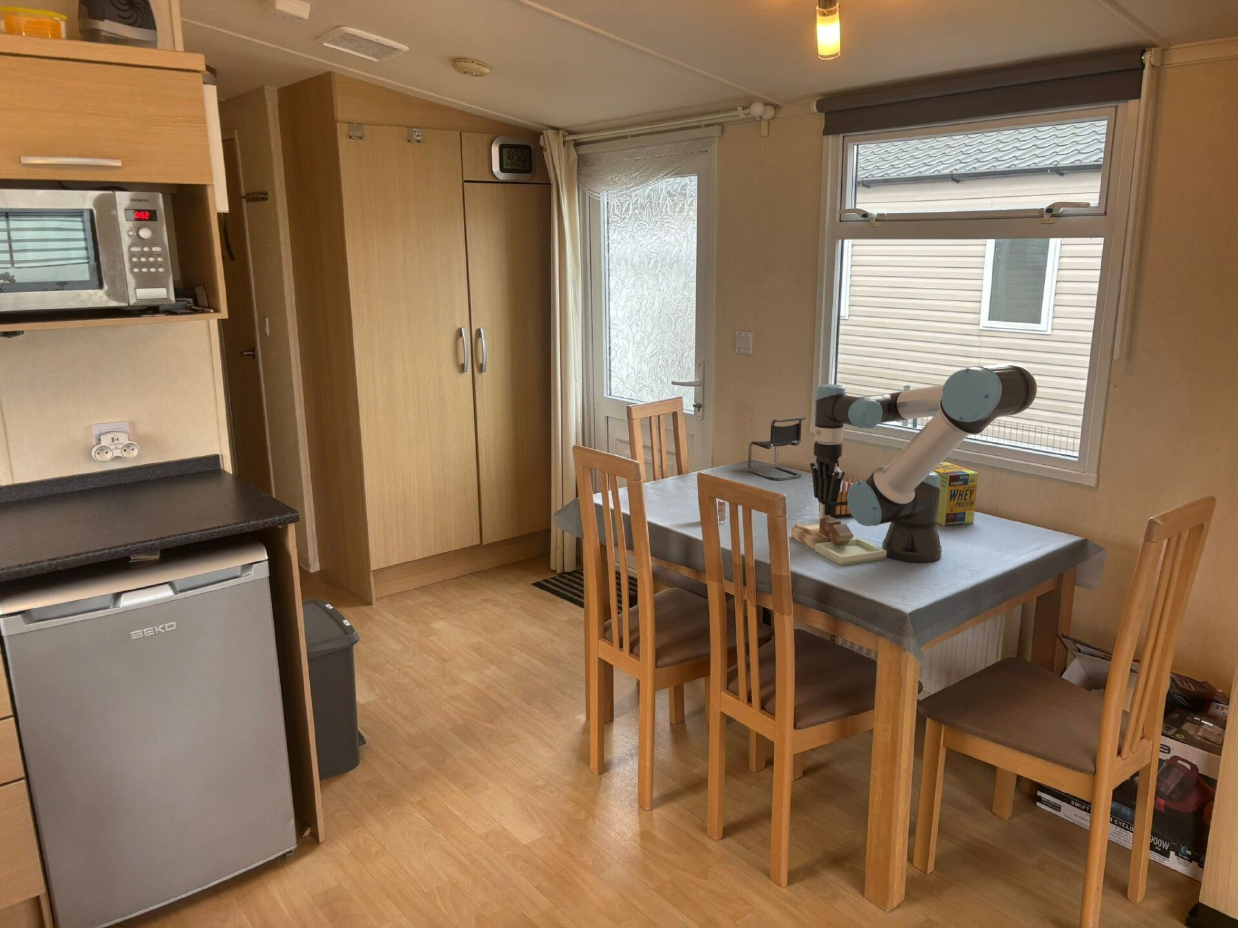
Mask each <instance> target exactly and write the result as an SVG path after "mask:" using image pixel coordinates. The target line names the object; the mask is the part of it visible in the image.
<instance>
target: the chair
mask: <svg viewBox="0 0 1238 928" xmlns="http://www.w3.org/2000/svg"><path fill="white" fill-rule="evenodd" d="M806 419H807V417H806V415H802V416H798V417H797V416H796V417H787V418H773V420H772V421H771V425H770V440H767V441H766V440H765V441H750V443H749V444H748V452H747V454H748V455H747V457H748V459H747V467H748V470H749V472H751V473H753V474H755V475H758V476H761V477H763V478H766V479H769V480H772V481H785V480H786V481H787V480H792V479H793V480H794V479H799V478H801V477H802V474H801V473H799V472H797V471H794V470H791V469H789V468H786V467H783V466H780V465H779V463H778V456H779V455H778V454H779V447H784V446H790V445H791V446H793V447H797V446H799V445H800V444H801V440H802V421H804V420H806ZM796 421H798V422H797V423H795V424H792V425H786V426H783V425H782V426H780V425H775V424H776V423H784V422H787V423H788V422H796ZM795 441H796V442H795ZM753 446H756V447H760V448H763V449H766V450H771V449H772V448H773V447H774V465H775V468H777V470H778V469H779V470H781V471H784V472H785V473H788V474H792V475H789V476H780V477H779V476H777V477H776V476H771V475H769V474H766V473H763V472H761V471H758V470H755V469H753V468H752V449H753V448H752V447H753ZM794 474H795V475H794Z"/></svg>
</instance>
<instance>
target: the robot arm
mask: <svg viewBox="0 0 1238 928" xmlns="http://www.w3.org/2000/svg"><path fill="white" fill-rule="evenodd" d="M1036 381H1037V380H1036V379H1035V376H1034V375H1033V374H1032V372H1031V371H1029V370H1028V369H1027V368H1026V367H1024V366H1022V365H1019V364H1014V363H1006V364H1005V363H1004V364H995V365H983V366H982V365H981V366H980V365H975V366H969V367H966V368H962V369H960V370H959V369H958V370H957V371H955V372H953V373H952V374H951V375H949V377H948V378H947V379H946V381H945V382H944V383H943V384H939V385H932V386H927V387H922V388H921V387H920V388H916V389H909V390H903V391H897V392H891V393H884V394H872V395H864V396H853V395H848V394H846V387H845V386H844V385H842V384H836V383H827V384H820V385H818V386H817V389H816V395H815V413H814V414H815V415H814V417H815V420H814V438H813V439H814V441H815V442H814V443H813V456H815V457H816V458H815V461H814V462H810V464H809V467H810V470H811V474H812V477H811V478H812V485H813V486H812V487H813V495H814V496H813V497H814V498H815V499H817V501H818V514H819V515H818V524H819V526H820V519H824V518H830V516H831V508H832V503H836V502H837V500H838V496H839V491H840V486H841V487H842V483H843V477H844V476H845V474H846V473H845V471H844V470H841V469H840V463H839V458H841V457H842V456H843V443H842V441H844V425H848V426H851V427H857V428H859V429H873V428H875V427H876V426H878V425H879V424H883V423H891V422H903V421H907V420H908V421H909V420H914V419H922V418H929V417H932V418H931V419H930V420H929V421H928V422H927V423H926V424H925V425H924V426H923V427H922V428H921V429H920V430H919V432H918V433H916V435H914V437H913V438H912V439H911V440H910V441H909V442H908V444H907V445H906V446H905V447H904V448H903V449H902V450H901V451H900V452H899V453H898V454H897V455H896V456H895V457H894V458H893V459H892V460H891V461H890V463H889V464H887V465H885V464H884V465H880V466H878V467H877V468H875V470H873V472H872V473H871V474H869V476H868V477H867V478H866V479H864V480H862V481H859V480H858V481H857V480H856V482H855V483H853V482H852V483H851V486H850V488H849V490H848V494H847V500H848V508H849V511H850V513H851V515H852V516H853V517H852V519H854V521H856V522H857V523H858V524H860V525H861V526H865V527H878V526H879V525H880V526H881V525H884V524H888V523H890V524H889V527H888V530H887V531H886V534H885V537H884V539H883V541H882V543H881V545H882V546H881V548H882V549H884V550H886V551H887V553H886V557H889V558H892V559H895V560H898V561H902V562H910V563H929V562H935V561H938V560H940V559H941V557H942V551H943V549H942V545H941V541H940V535H939V533H938V528H937V525H938V523H937V516H938V506H939V495H940V489H941V487H940V476H939V475H938V474H937V473H935V472H933V470H934V469H935V468H936V467H937V466H938V465H939V464H940V463H941V462H944V460H945V459H947V457H948V456H949V455H951V453H952V452H953V451H954V450H955V449H957V447H959V445H960V444H962V443H963V441H964V440H966V438H968V436H969V435H971V436H973V435H974V436H975V435H980V434H981V433H982V432H983V431H985V429H986V428H987V427H988V426H989V425H991V423H992V422H993V421H995V420H996V419H998V418H1001V417H1008V416H1013V415H1018V414H1020V413H1023V412H1025V411H1026V410H1027V409H1028V408H1029V407H1030V406H1031V405H1032V404H1033V403H1034V400H1035V399H1036V396H1037V392H1038V387H1037V385H1038V384H1037V382H1036Z"/></svg>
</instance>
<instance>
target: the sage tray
mask: <svg viewBox="0 0 1238 928" xmlns="http://www.w3.org/2000/svg"><path fill="white" fill-rule="evenodd" d="M814 552H815V553H816V552H818V553H819V555H820V554H821V555H820V556H822V557H824V556H825V558H826V559H828V560H830V561H832V562H834V563H835V562H836V564H837V563H838V565H839V566H842V565H843V566H848V565H854V564H855V563H856V564H862V563H868V562H873V561H875V562H876V561H881V560H886V559H887V555H886V553H887V551H886V550H884V549H882V547H879V546H877V545H875V544H873V543H871V542H869V541H867V540H865V539H862V538H860V537H853V538H852V539H850V541H849V543H848V545H841V546H835V545H834V544H833V542H832V541H831V542H824V543H817V544H815V549H814ZM818 553H817V554H818Z"/></svg>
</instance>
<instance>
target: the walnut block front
mask: <svg viewBox="0 0 1238 928" xmlns="http://www.w3.org/2000/svg"><path fill="white" fill-rule="evenodd" d="M828 536H829V537H830V539H831V541H832V542H833V544H834V545H835V546H841V545H848V543H849V541H850V539H851V537H852V536H853V537H854V534H853V532H852V531H851V529H850V528H849V526H848V524H847V523H841V524H839V525H833V527H832V529H831V531H830V533H829V535H828Z"/></svg>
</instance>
